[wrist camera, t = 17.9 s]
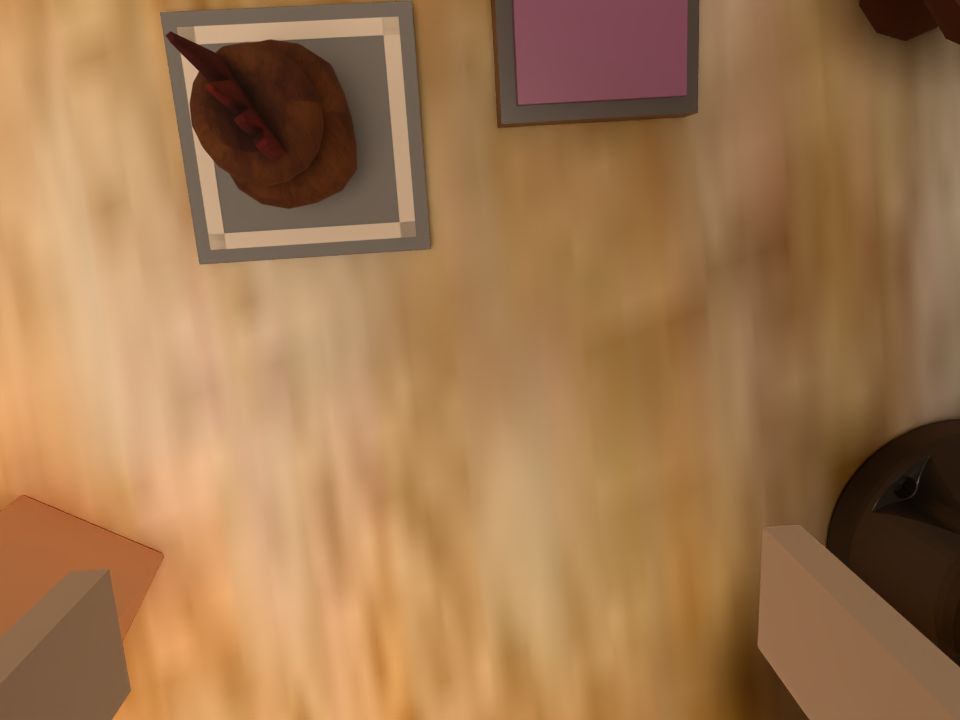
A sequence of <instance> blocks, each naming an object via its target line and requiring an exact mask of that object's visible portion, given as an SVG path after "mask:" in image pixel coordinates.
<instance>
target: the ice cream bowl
mask: <svg viewBox="0 0 960 720" xmlns="http://www.w3.org/2000/svg"><path fill="white" fill-rule="evenodd" d="M860 7H861V8H862V10H863V12H864V13H865V15H866V16H867V18H868V19H869V21H870V23H871V24H872V26H873V27H874V29H875V31H876V32H877V33H880V34H884V35H887V36H891V37H894V38H897V39H901V40H904V41H907V40H909V39H911V38H914V37H916V36H918V35H921V34H923V33H925V32H928V31H930V30H932V29H935V28H937V27H938V26H939V28H940V29H941V31H942V33H943V34H944V36H945V38H946V39H948V40H951V41H953V42H955V43H957V44H960V0H860Z"/></svg>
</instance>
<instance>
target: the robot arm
mask: <svg viewBox="0 0 960 720" xmlns="http://www.w3.org/2000/svg"><path fill="white" fill-rule="evenodd" d="M758 648H759V650H760V651H761V652H762V654H763V655H764V657H765V658H766V659H767V661H768V662H769V664H770V665H771V666H772V668H773V669H774V671H775V672H776V674H777V675H778V676H779V678H780V679H781V681H782V682H783V683H784V685H785V686H786V688H787V689H788V690H789V692H790V693H791V695H792V696H793V697H794V699H795V700H796V702H797V703H798V705H799V706H800V707H801V709H802V710H803V712H804V713H805V714H806V716H807V717H808V719H809V720H960V420H952V421H944V422H939V423H935V424H931V425H928V426H925V427H922V428H919V429H916V430H914V431H912V432H909V433H907V434H905V435H903V436H901V437H900V438H898V439H896V440H894V441H893V442H891V443H890V444H888V445H887V446H885V447H884V448H883V449H881V450H880V451H879V452H878V453H876V454H875V455H874V456H873V457H872V458H871V459H870V460H869V461H868V462H867V463H866V464H865V465H864V466H863V467H862V468H861V469H860V470H859V471H858V472H857V474H856V475H855V476H854V477H853V479H852V480H851V482H850V483H849V485H848V486H847V488H846V489H845V491H844V493H843V494H842V496H841V498H840V500H839V502H838V504H837V507H836V509H835V512H834V515H833V518H832V521H831V525H830V529H829V535H828V545H827V548H825V547H824V546H823V545H822V544H821V543H820V542H819V541H818V540H816V539H815V538H814V537H813V536H812V535H811V534H810V533H809V532H807V531H806V530H805V529H804V528H803V527H802V526H801V525H800V524H799V525H784V526H768V527H763V533H762V556H761V579H760V601H759V624H758ZM130 691H131V689H130V683H129V677H128V672H127V666H126V661H125V655H124V649H123V644H122V638H121V632H120V627H119V621H118V615H117V610H116V604H115V598H114V593H113V587H112V582H111V576H110V570H109V569H101V570H85V571H70V572H69V573H68V574H67V575H66V576H65V577H64V578H62V579H61V580H60V581H59V582H58V583H57V584H56V585H55V586H54V587H53V588H52V589H51V590H50V591H49V592H48V593H47V594H46V595H45V596H44V597H42V598H41V599H40V600H39V601H38V602H37V603H36V604H35V605H34V606H33V607H32V608H31V609H30V610H29V611H28V612H27V613H26V614H25V615H24V616H23V617H21V618H20V619H19V620H18V621H17V622H16V623H15V624H14V625H13V626H12V627H11V628H10V629H9V630H8V631H7V632H6V633H5V634H4V635H3V636H1V637H0V720H112V719H113V717H114V716H115V714H116V713H117V711H118V709H119V708H120V706H121V705H122V703H123V702H124V700H125V699H126V697H127V696H128V694H129V693H130Z"/></svg>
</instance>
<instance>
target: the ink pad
mask: <svg viewBox="0 0 960 720" xmlns="http://www.w3.org/2000/svg"><path fill="white" fill-rule="evenodd" d="M491 6H492V25H493V45H494V64H495V84H496V103H497V123H498V128H501V127H519V126H536V125H553V124H571V123H588V122H606V121H623V120H641V119H658V118H676V117H685V116H689V115H692V114H695V113H698V53H699V0H491Z"/></svg>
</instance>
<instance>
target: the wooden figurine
mask: <svg viewBox="0 0 960 720" xmlns="http://www.w3.org/2000/svg"><path fill="white" fill-rule="evenodd" d="M165 36H166V37H167V39H168V40H169V41H170V43H171V44H172V45H173V46H174V47H175V48H176V49H177V50H178V51H179V52H180V53H181V54H182V55H183V56H184V57H185V58H186V59H187V60H188V61H189V62H190V63H191V64H192V65H193V66H194V67H195V68H196V69H197V70H198V71H199V72H198V74H197V76H196V78H195V80H194V82H193V85H192V91H191V98H190V113H191V122H192V127H193V129H194V131H195V133H196V135H197V137H198V139H199V141H200V143H201V145H202V147H203V149H204V150H205V151H206V152H207V153H208V155H209V156H210V157H211V158H212V159H213V161H214V162H215V163H216V164H217V165H218V167H220V168H221V169H223V170H224V171H226V172H228V173H229V174H230V176H231V178H232V179H233V181H234V183H235V184H236V186H237V188H238V189H239V190H241V191H242V192H244V193H245V194H247V195H248V196H250V197H251V198H253V199H254V200H256V201H257V202H259V203H260V204H263V205H269V206H275V207H280V208H286V209H291V208H296V207H300V206H305V205H309V204H314V203H318V202H320V201H322V200H324V199H326V198H328V197H330V196H332V195H334V194H336V193H338V192H340V191H342V190H343V189H344V187H345V186H346V184H347V183H348V182H349V180H350V179H351V177H352V176H353V174H354V173H355V171H356V170H357V151H356V139H355V133H354V128H353V122H352V117H351V114H350V110H349V107H348V103H347V100H346V97H345V93H344V91H343V89H342V87H341V84H340V82H339V80H338V78H337V76H336V74H335V71H334V69H333V67H332V66H331V65H330V63H329V62H327V61H325V60H324V59H322V58H321V57H319V56H318V55H316V54H315V53H313V52H311V51H310V50H308V49H307V48H305V47H304V46H302V45H300V44H298V43H291V42H285V41H279V40H272V39H269V40H264V41H259V42H254V43H250V42H245V43H239V44H233V45H227V46H223V47H221V48H220V49H219V50H218V51H216V52H213V51H211V50H209V49H207V48H205V47H203V46H201V45H198V44H196V43H194V42H192V41H190V40H188V39H186V38H184V37H182V36H179V35H177V34H175V33H173V32H171V31H170V32H169V33H168V34H166V35H165Z"/></svg>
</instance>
